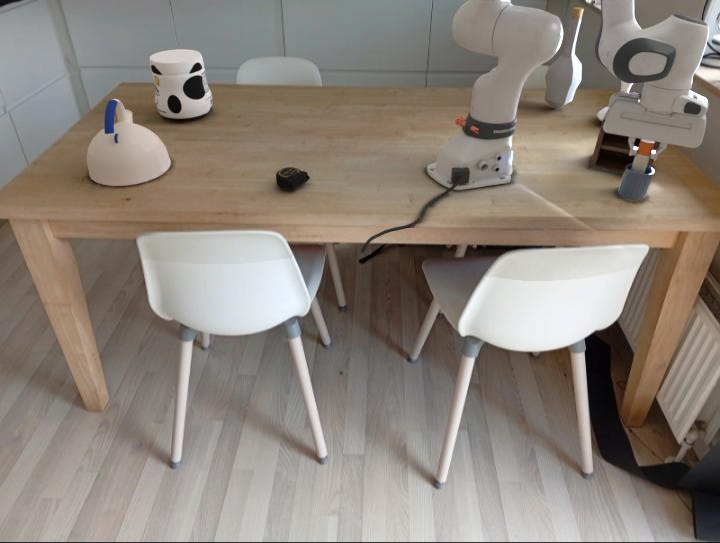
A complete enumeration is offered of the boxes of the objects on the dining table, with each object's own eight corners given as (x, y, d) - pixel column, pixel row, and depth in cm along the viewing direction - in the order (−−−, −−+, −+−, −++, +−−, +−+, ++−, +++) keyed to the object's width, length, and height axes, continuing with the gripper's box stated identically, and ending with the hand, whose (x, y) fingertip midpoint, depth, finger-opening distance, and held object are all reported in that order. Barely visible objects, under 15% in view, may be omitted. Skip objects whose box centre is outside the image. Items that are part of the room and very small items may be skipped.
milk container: (149, 113, 172) (135, 55, 161) (198, 101, 181) (187, 45, 171) (174, 129, 162) (161, 68, 151) (225, 115, 171) (215, 56, 160)
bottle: (576, 116, 170) (602, 13, 152) (540, 113, 172) (561, 11, 154) (571, 103, 179) (595, 5, 161) (537, 101, 180) (556, 3, 162)
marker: (632, 192, 127) (649, 144, 120) (622, 187, 129) (637, 139, 122) (640, 189, 128) (658, 141, 121) (630, 184, 130) (646, 137, 123)
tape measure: (291, 195, 129) (290, 181, 127) (271, 187, 132) (269, 173, 130) (310, 184, 133) (309, 171, 131) (290, 177, 137) (288, 163, 135)
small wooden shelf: (647, 180, 135) (664, 130, 127) (589, 168, 141) (602, 119, 133) (651, 166, 141) (668, 117, 133) (595, 155, 147) (609, 107, 139)
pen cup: (632, 204, 125) (642, 177, 121) (611, 193, 130) (619, 166, 126) (650, 198, 128) (660, 171, 124) (629, 187, 132) (638, 161, 128)
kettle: (175, 149, 150) (160, 84, 139) (166, 183, 134) (149, 112, 123) (99, 154, 148) (78, 88, 137) (81, 190, 131) (55, 118, 120)
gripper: (610, 93, 117) (593, 152, 126) (716, 110, 110) (690, 171, 118) (614, 85, 122) (597, 143, 130) (715, 101, 114) (691, 161, 123)
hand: (642, 157), depth 124 cm, fingers closed on marker, 3 cm apart
